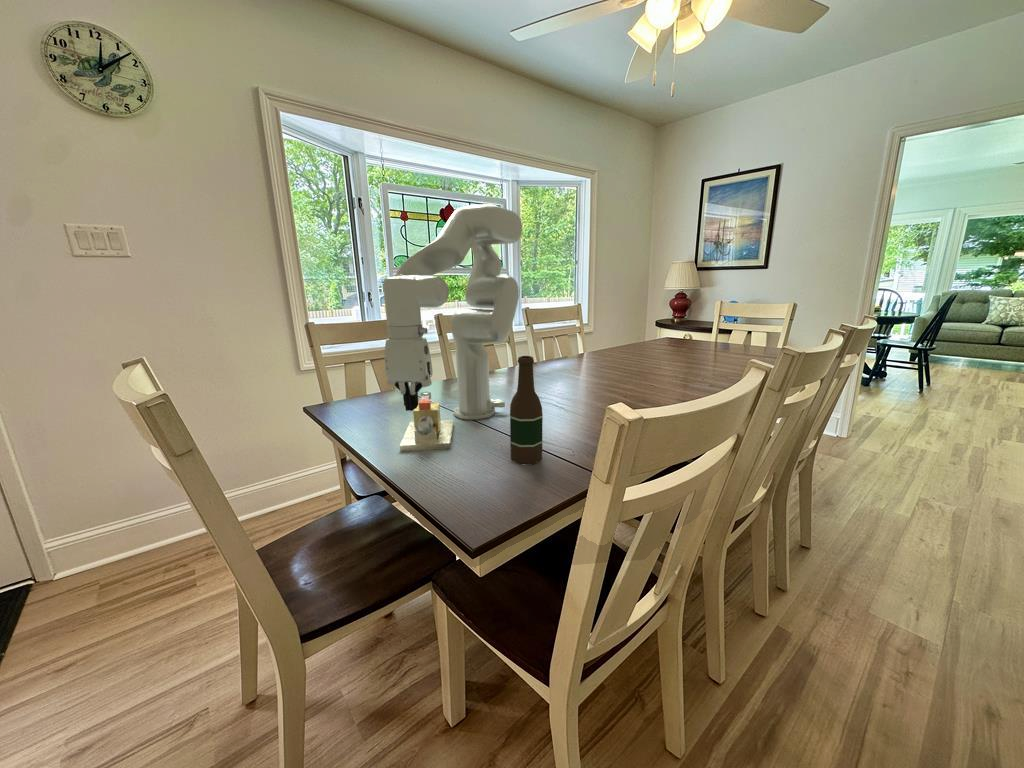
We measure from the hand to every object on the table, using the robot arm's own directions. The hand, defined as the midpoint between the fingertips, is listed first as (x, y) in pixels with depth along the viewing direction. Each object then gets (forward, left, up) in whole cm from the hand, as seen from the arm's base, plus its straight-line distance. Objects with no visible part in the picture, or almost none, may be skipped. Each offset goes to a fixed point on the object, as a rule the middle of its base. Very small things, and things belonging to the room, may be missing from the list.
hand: (411, 408), depth 95 cm
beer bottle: (-27, +8, -11) cm, 30 cm away
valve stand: (-3, -7, -10) cm, 13 cm away
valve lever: (-3, -3, 0) cm, 4 cm away
